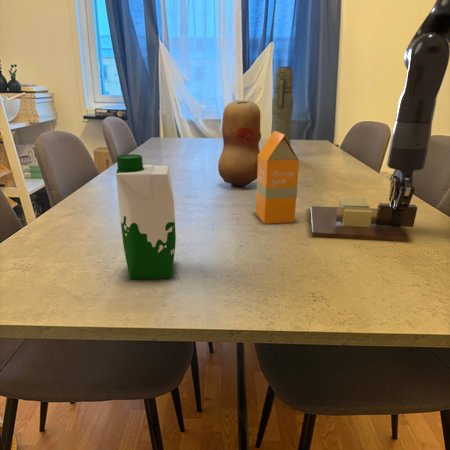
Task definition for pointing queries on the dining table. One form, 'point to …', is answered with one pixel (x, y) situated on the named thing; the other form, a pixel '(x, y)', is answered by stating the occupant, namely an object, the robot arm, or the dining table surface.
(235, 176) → the butternut squash
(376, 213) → the knife
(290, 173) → the orange juice
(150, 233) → the milk carton
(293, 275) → the dining table surface
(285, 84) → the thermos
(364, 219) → the butter slice
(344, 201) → the butter block
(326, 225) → the board
